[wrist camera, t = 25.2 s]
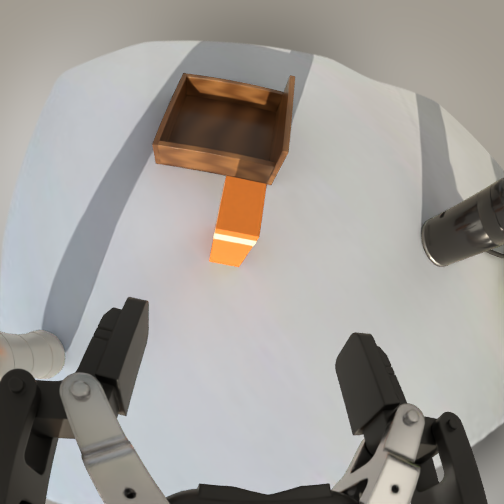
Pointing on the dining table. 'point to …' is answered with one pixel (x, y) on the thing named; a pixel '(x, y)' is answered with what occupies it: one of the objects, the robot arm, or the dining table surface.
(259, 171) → the drawer
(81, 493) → the dining table surface
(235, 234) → the packet
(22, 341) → the plastic bottle
